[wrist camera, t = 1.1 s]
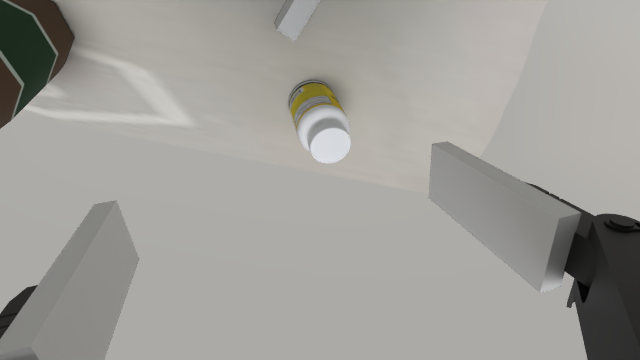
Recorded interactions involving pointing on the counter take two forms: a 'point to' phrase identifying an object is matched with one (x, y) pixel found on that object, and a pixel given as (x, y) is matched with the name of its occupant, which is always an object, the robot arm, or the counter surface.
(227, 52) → the counter surface
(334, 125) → the supplement bottle
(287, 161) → the counter surface
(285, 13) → the wall
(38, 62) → the beer bottle
